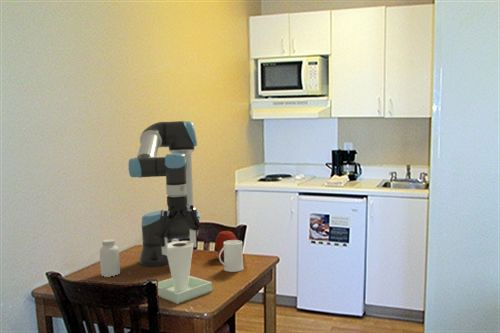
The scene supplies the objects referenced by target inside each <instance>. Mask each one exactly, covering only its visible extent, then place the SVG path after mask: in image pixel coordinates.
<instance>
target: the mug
mask: <svg viewBox="0 0 500 333" xmlns="http://www.w3.org/2000/svg"><path fill="white" fill-rule="evenodd" d="M223 250H224V258H223V260H222V257H221V253H222V251H223ZM243 253H244V252H243V241H242V240H239V239H237V240H228V241H225V242H224V247H223V248H222V249H221V251H220V253H219V254H218V260H219V262H220V263H221V265H224V266H223V267H224V268H223V271H224V272H229V273H235V272H236V273H237V272H241V271H243V270H244V268H245V267H244V260H243V259H244V258H243V256H244V255H243Z"/></svg>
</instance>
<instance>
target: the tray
mask: <svg viewBox="0 0 500 333" xmlns="http://www.w3.org/2000/svg"><path fill="white" fill-rule="evenodd" d="M157 282H158V295H159V297H158V298H160V297H161V299H164V300H165V301H169V302H171V303H174V304H176V305H179V304H181V303H184V302H188V301H190V300H192V299H196V298H199V297H201V296H204V295H207V294H209V293H212V292H213V282H212V281H209V280H205V279H203V278H199V277H195V276H192V275H189V284H188V290H186V291H183V292H180V293H176V292H175V290H174V285H173V280H172V277H170V278H168V279H164V280H160V281H157Z"/></svg>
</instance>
